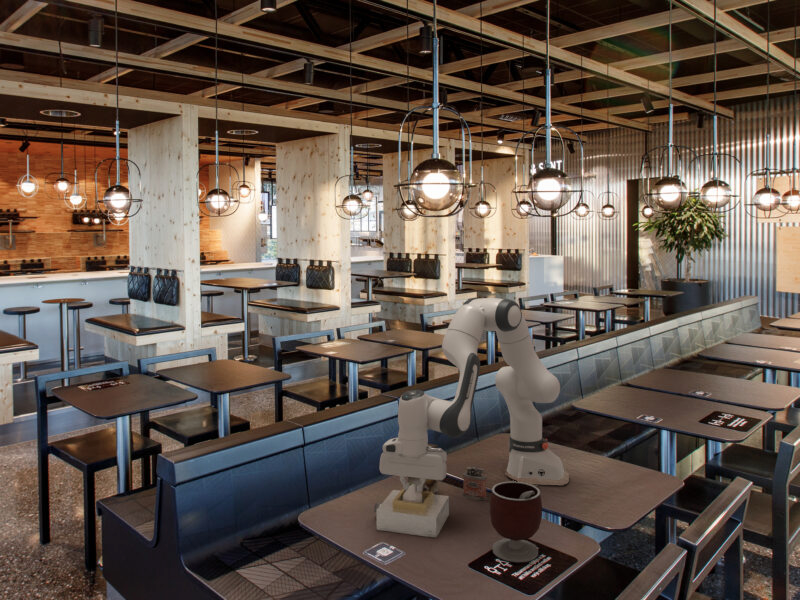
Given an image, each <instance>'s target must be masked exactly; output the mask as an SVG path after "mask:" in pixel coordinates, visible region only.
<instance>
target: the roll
mask: <svg viewBox="0 0 800 600" xmlns="http://www.w3.org/2000/svg"><path fill="white" fill-rule="evenodd" d="M416 486H417V485H414V484H412V485H410V486H409V487H408V490H407V491H406V492H405V493H404V494H403V501H408V502H417V503H422V494H421V492H417V491H416V490H417V489H416Z"/></svg>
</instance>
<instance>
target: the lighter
mask: <svg viewBox="0 0 800 600" xmlns="http://www.w3.org/2000/svg"><path fill="white" fill-rule="evenodd" d="M485 471H486V470H485V469H484V468H477V467H476V466H472V467H471V466H468V467H466V472H463V473H462V477H463V487H462V488H463V492H462V497H464V498H467V499H471V500H476V501H477V500H478V501H486V500H487V478H488V477H487V475H485ZM485 499H486V500H485Z"/></svg>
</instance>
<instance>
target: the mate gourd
mask: <svg viewBox="0 0 800 600" xmlns="http://www.w3.org/2000/svg"><path fill="white" fill-rule="evenodd" d="M542 502H543V501H542V496H541V491H540V489H539V488H538V487H537V486H536V485H531V484H528V483H523V482H516V481H504V482H499V483H496V484H494V485H493V486H492V488H491V493H490V500H489V515H490V516H489V517H490V521H491V525H492V527H493V528H494V530H495V531H496V533H497V534H498V535H499V536H501V537H502V538H503V539H499V540H497V541H495V542H494V543H493V545H492V552H493V554H494V555H495V556H496V557H497V558H498V559H501V560H504V561H506V562H511V563H512V562H513V563H528V562H531V561H533V560H535V559H536V558H537V557H538V556H539V549H538V547H537V546H536V545H535V544H534V543H532V542H530V541H528V540H529V539H530V538H532V537H533V536H534V535H535V534H536V533H537V532H538V531H539V529H540V525H541V521H542V516H543V504H542Z"/></svg>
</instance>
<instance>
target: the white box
mask: <svg viewBox="0 0 800 600" xmlns="http://www.w3.org/2000/svg"><path fill="white" fill-rule="evenodd" d="M406 491H407V490H403V488H402V489H401V490H398V489H392V490H391V492H390V493H389V494H388V495H387V497H386V498H385V499H384V500H383V502H376V503H375V504H374V513H375V514H376V530H377V531H384V532H390V533H398V534H406V535H412V536H420V537H427V538H434V539H437V537H439V536H438V535H439V534H440V532H441V531H442V528H443V526H444V524H445V523H446V521H447V519H448V517H449V515H450V496H449V495H442V494H435V493H434V492H429V491H422V492H421V494H422V503H417V502H408V501H403V494H404V493H405V492H406Z"/></svg>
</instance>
